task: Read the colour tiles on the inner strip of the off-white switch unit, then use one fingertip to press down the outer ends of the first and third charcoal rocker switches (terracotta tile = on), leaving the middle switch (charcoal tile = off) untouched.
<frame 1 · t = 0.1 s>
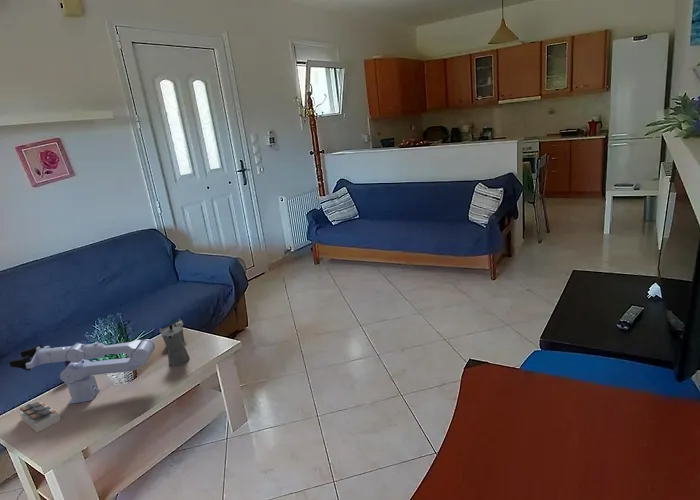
hand: (16, 359, 178), 22 cm above the table, tool horizontal, fingers open, 7 cm apart
energy drink: (75, 375, 205), on the table
rocker 3: (40, 414, 169), point 4 cm above the table, hinge at -10.0°
coffeepot: (179, 360, 207), on the table
rocker 2: (35, 410, 172), point 4 cm above the table, hinge at -10.0°
switch unit: (41, 419, 174), on the table
rocker 1: (30, 407, 175), point 4 cm above the table, hinge at -10.0°
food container: (178, 343, 225), on the table
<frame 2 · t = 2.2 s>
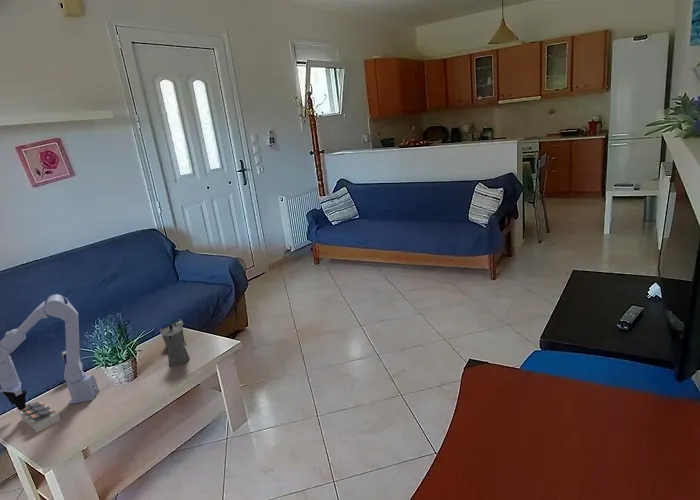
hand: (18, 406, 175), 5 cm above the table, tool pointing down, fingers open, 7 cm apart
rocker 1: (30, 407, 175), point 4 cm above the table, hinge at -10.0°, touching gripper
everything else where it was.
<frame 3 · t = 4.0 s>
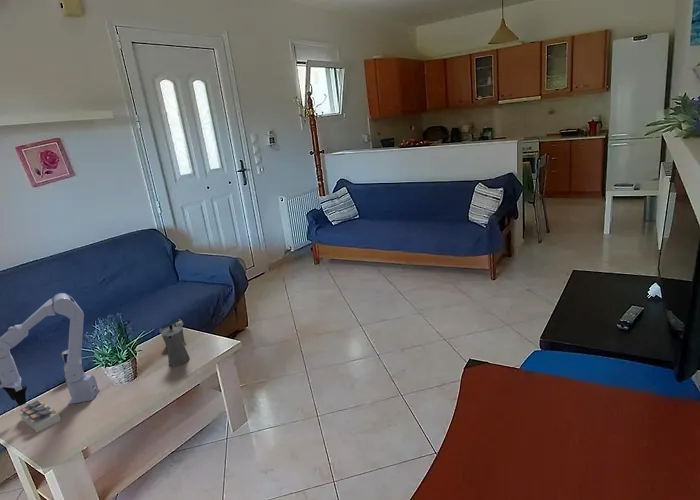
hand: (19, 401, 173), 8 cm above the table, tool pointing down, fingers open, 7 cm apart
rocker 1: (30, 407, 175), point 4 cm above the table, hinge at 4.3°
everything else where it was.
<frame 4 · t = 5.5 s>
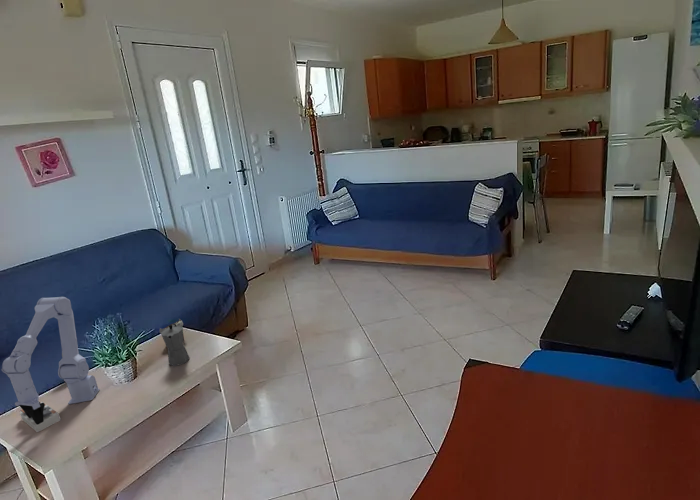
hand: (36, 419, 164), 5 cm above the table, tool pointing down, fingers open, 7 cm apart
rocker 3: (40, 414, 169), point 4 cm above the table, hinge at -10.0°, touching gripper
rocker 1: (30, 407, 175), point 4 cm above the table, hinge at 12.0°
everything else where it was.
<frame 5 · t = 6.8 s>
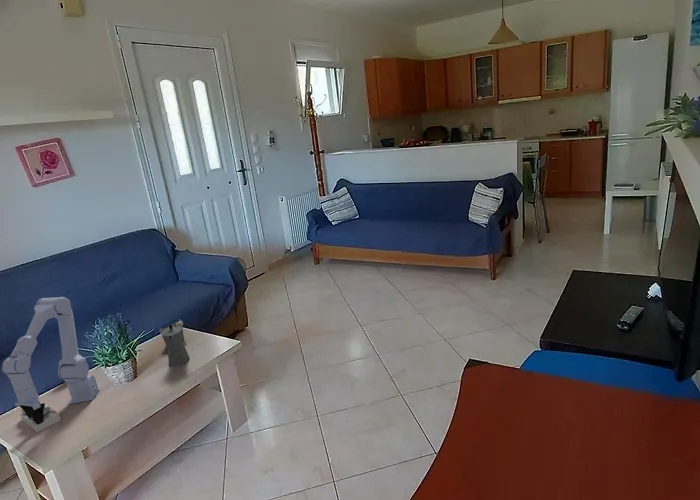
hand: (36, 419, 164), 5 cm above the table, tool pointing down, fingers open, 7 cm apart
rocker 3: (40, 414, 169), point 4 cm above the table, hinge at 1.1°
rocker 1: (30, 407, 175), point 4 cm above the table, hinge at 16.4°
everything else where it was.
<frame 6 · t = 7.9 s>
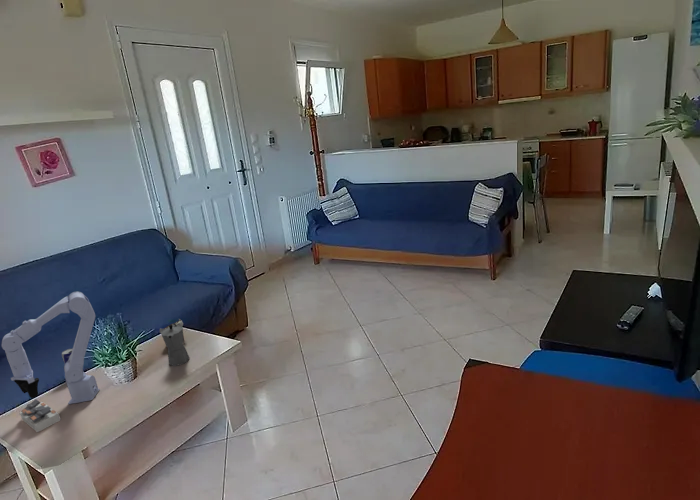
hand: (30, 394, 175), 9 cm above the table, tool pointing down, fingers open, 7 cm apart
rocker 3: (40, 414, 169), point 4 cm above the table, hinge at 8.3°
rocker 1: (30, 407, 175), point 4 cm above the table, hinge at 18.9°
everything else where it was.
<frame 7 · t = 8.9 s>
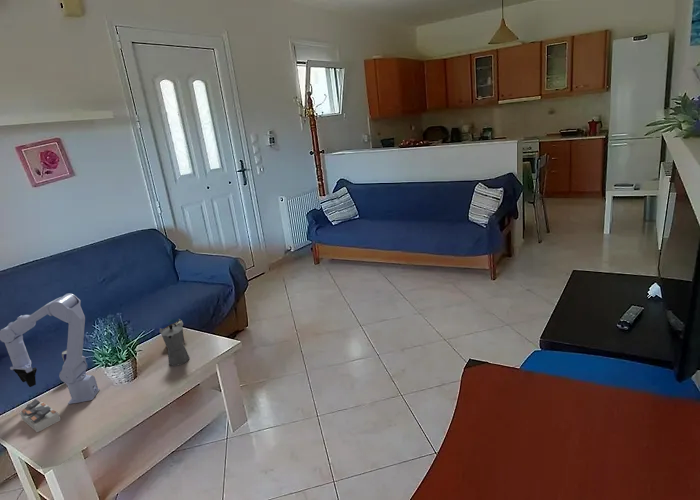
hand: (29, 383, 183), 9 cm above the table, tool pointing down, fingers open, 7 cm apart
rocker 3: (40, 414, 169), point 4 cm above the table, hinge at 13.0°
rocker 1: (30, 407, 175), point 4 cm above the table, hinge at 20.6°, touching switch unit
everything else where it was.
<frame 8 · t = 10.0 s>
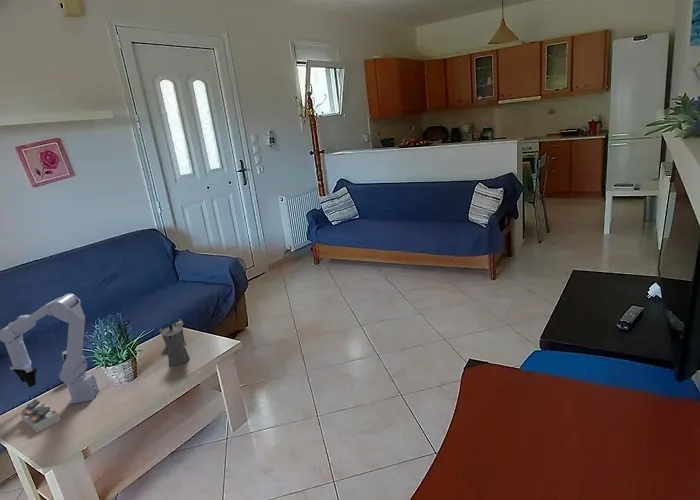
hand: (29, 383, 183), 9 cm above the table, tool pointing down, fingers open, 7 cm apart
rocker 3: (40, 414, 169), point 4 cm above the table, hinge at 16.9°
rocker 1: (30, 407, 175), point 4 cm above the table, hinge at 21.9°, touching switch unit
everything else where it was.
at the end: rocker 1 at +22° (first picture: -10°); rocker 3 at +17° (first picture: -10°); rocker 2 at -10° (first picture: -10°) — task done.
